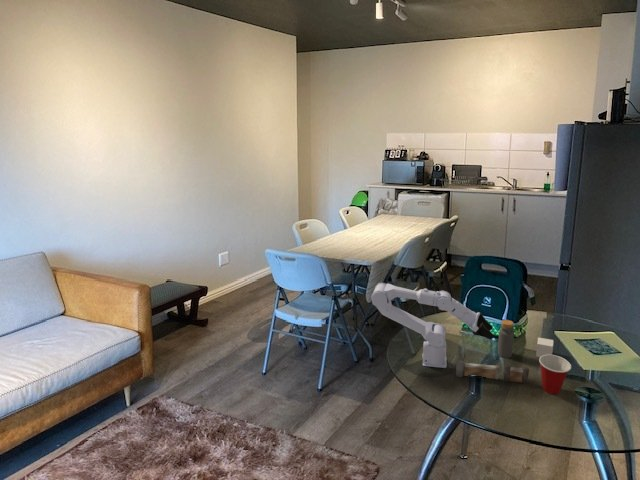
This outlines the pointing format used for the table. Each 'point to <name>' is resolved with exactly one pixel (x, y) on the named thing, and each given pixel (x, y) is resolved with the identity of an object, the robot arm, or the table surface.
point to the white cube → (544, 347)
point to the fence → (516, 374)
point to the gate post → (459, 368)
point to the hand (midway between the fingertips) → (491, 333)
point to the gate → (481, 370)
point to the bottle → (506, 339)
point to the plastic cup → (553, 372)
